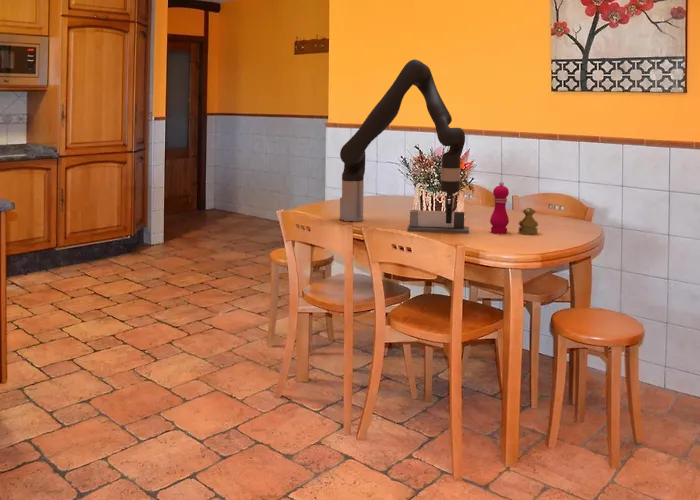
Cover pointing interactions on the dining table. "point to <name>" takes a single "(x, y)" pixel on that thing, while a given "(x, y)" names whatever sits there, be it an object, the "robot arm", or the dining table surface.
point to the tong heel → (414, 218)
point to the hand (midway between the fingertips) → (448, 222)
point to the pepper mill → (500, 210)
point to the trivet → (439, 229)
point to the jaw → (440, 219)
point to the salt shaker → (528, 223)
